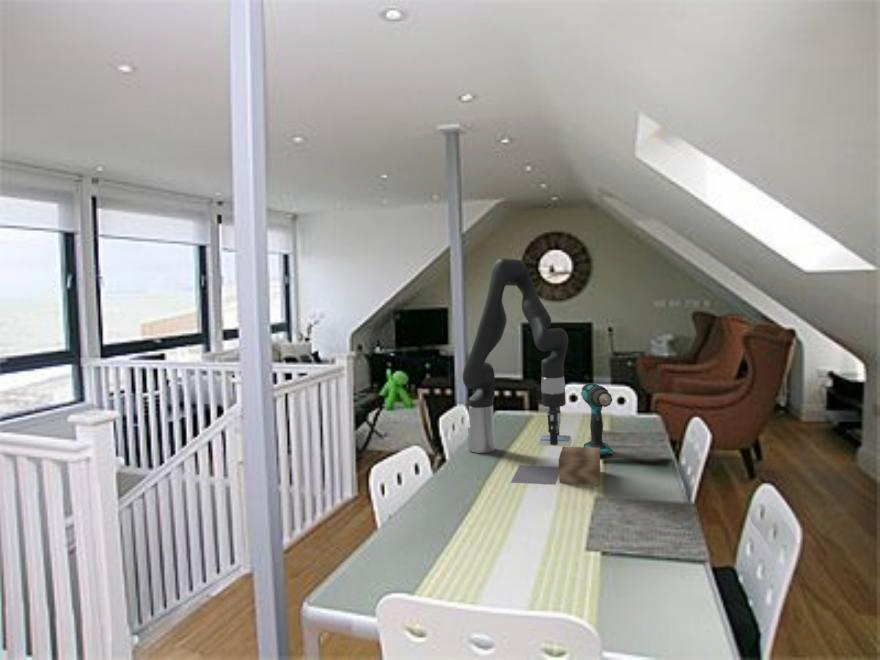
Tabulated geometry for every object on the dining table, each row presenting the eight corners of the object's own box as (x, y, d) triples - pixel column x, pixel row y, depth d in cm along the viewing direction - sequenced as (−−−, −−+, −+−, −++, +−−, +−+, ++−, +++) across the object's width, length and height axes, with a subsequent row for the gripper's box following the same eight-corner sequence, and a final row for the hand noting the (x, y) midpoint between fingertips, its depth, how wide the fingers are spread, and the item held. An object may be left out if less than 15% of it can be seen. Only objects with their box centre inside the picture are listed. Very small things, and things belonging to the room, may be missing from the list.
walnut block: (559, 483, 194) (558, 458, 194) (563, 469, 208) (562, 446, 207) (599, 485, 191) (598, 460, 190) (600, 471, 204) (599, 447, 204)
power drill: (621, 464, 210) (620, 391, 208) (595, 465, 211) (593, 392, 209) (603, 443, 236) (601, 379, 234) (579, 444, 237) (577, 380, 235)
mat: (510, 483, 196) (510, 482, 196) (519, 466, 214) (519, 465, 214) (555, 485, 193) (555, 484, 193) (560, 468, 210) (560, 466, 210)
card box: (538, 445, 199) (538, 439, 199) (540, 440, 205) (540, 434, 205) (570, 446, 196) (570, 440, 196) (571, 441, 202) (571, 435, 202)
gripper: (544, 386, 207) (545, 436, 208) (538, 394, 193) (540, 447, 195) (567, 386, 205) (568, 436, 206) (563, 394, 191) (565, 448, 192)
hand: (555, 441), depth 200 cm, fingers closed on card box, 6 cm apart
